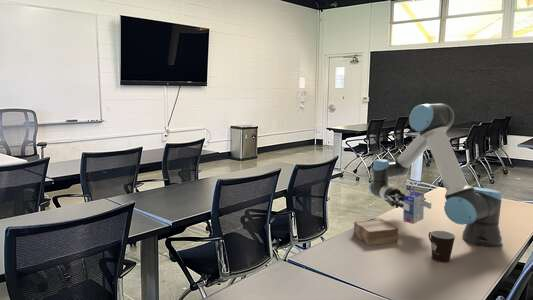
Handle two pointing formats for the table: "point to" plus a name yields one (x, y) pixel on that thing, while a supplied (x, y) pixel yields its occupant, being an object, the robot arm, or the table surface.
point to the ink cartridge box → (414, 207)
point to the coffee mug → (441, 245)
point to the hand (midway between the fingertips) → (419, 206)
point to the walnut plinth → (375, 232)
